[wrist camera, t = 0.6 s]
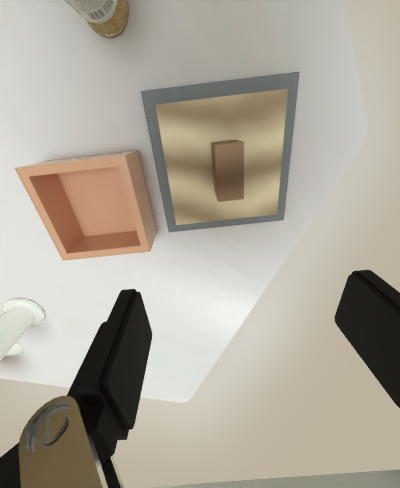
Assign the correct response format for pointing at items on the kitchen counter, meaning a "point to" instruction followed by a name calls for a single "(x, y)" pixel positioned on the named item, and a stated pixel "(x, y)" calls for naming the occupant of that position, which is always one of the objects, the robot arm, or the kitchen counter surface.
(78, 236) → the open wooden tray
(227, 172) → the lid
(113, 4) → the sprinkles bottle
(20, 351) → the champagne flute
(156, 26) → the kitchen counter surface
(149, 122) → the mat
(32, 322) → the candle
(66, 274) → the kitchen counter surface
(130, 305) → the robot arm
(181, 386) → the kitchen counter surface
